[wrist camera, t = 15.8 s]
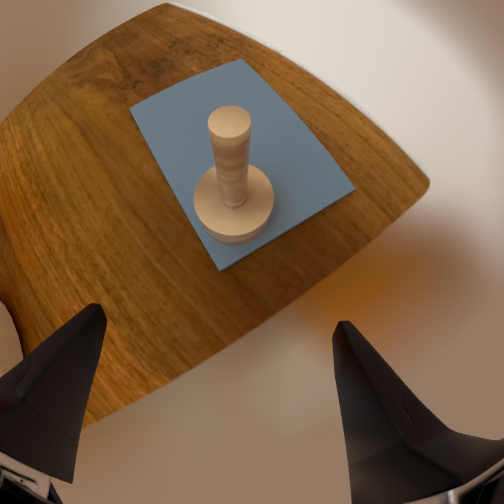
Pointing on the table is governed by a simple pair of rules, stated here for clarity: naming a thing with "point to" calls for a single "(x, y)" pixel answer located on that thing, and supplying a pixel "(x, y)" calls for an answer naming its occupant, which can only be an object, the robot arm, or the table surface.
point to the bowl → (8, 342)
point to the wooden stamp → (232, 183)
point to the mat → (260, 155)
